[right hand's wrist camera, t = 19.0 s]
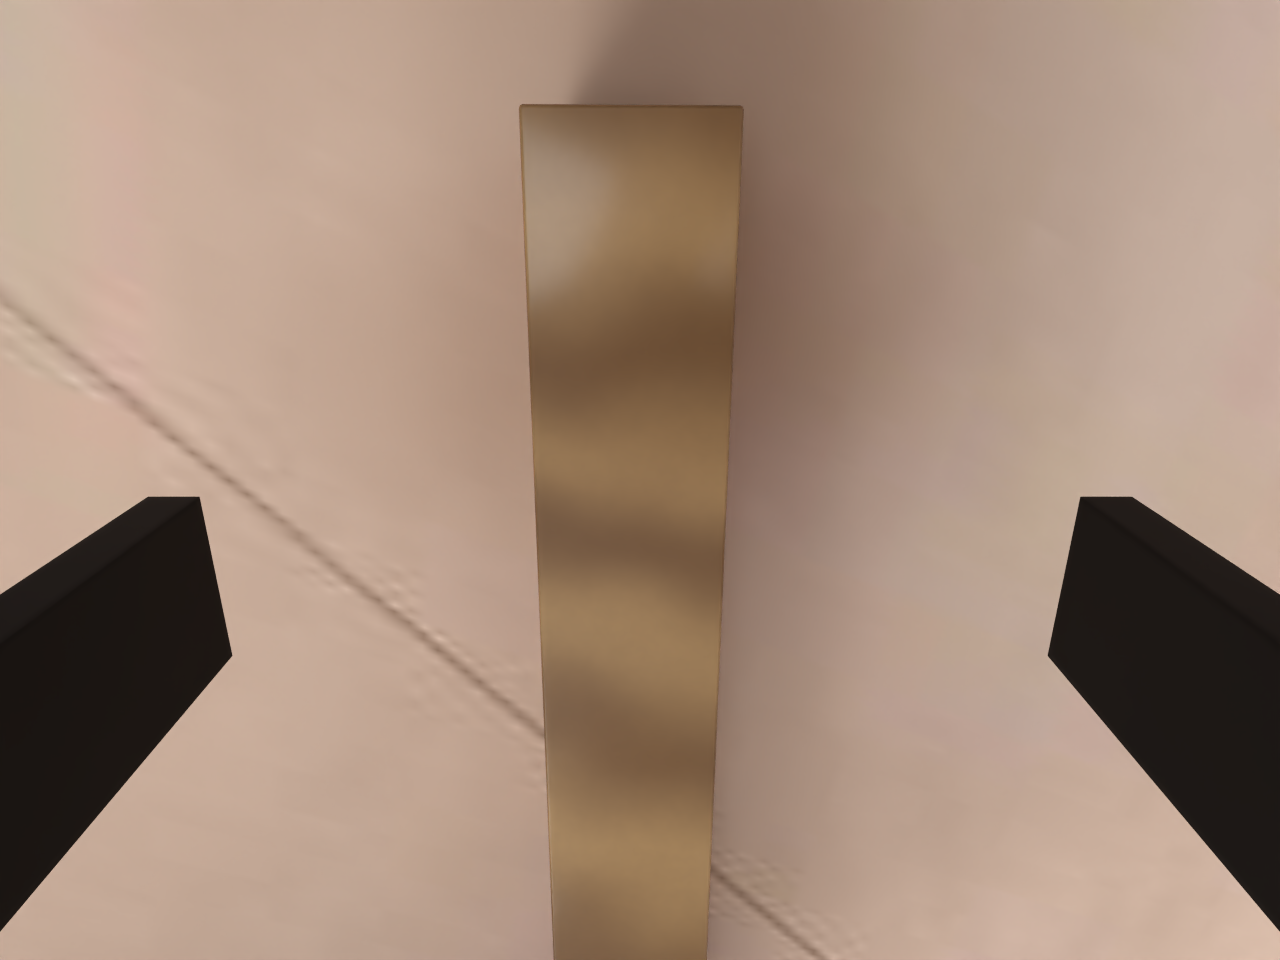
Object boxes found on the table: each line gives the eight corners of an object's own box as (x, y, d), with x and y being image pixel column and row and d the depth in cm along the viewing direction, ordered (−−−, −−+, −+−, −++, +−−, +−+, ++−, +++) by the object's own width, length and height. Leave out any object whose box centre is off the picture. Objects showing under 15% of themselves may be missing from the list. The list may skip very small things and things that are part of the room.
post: (557, 133, 24) (518, 103, 16) (706, 133, 24) (744, 105, 16) (587, 1253, 42) (576, 1511, 34) (673, 1253, 42) (682, 1510, 34)
